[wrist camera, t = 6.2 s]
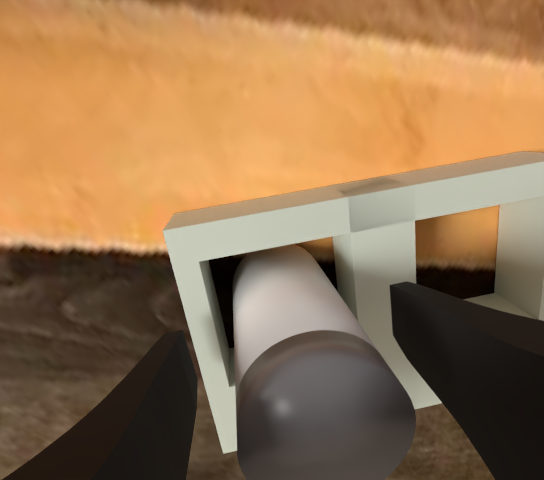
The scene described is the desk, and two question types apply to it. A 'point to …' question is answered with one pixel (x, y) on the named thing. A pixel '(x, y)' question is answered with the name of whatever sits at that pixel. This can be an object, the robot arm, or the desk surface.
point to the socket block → (361, 254)
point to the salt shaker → (310, 378)
